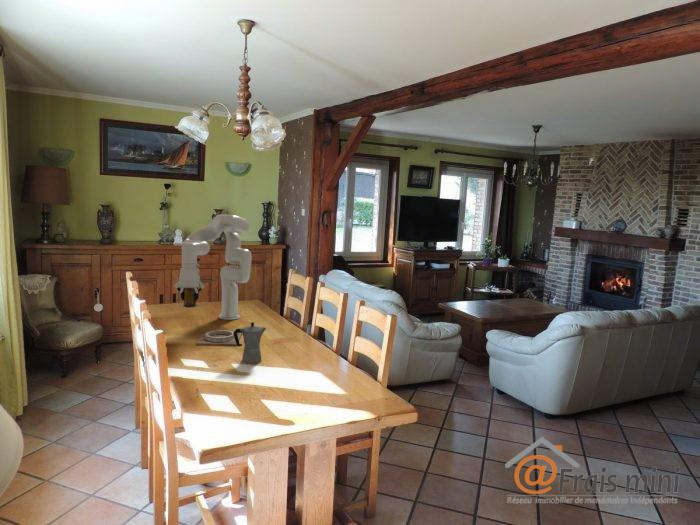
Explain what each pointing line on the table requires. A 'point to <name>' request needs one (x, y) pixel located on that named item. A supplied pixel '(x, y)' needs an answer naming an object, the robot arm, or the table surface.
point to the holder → (218, 338)
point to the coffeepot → (250, 342)
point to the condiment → (189, 298)
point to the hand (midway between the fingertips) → (189, 299)
